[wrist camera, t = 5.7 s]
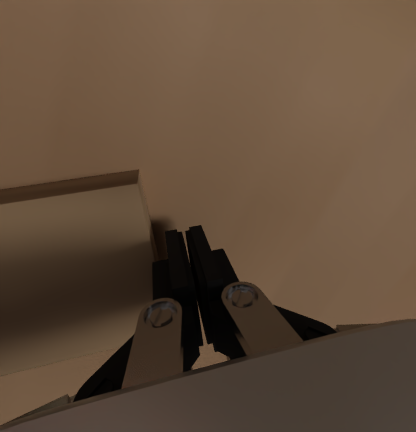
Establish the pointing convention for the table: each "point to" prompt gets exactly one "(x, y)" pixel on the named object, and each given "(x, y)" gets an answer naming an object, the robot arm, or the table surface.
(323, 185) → the table surface
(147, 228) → the board
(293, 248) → the table surface
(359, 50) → the table surface
